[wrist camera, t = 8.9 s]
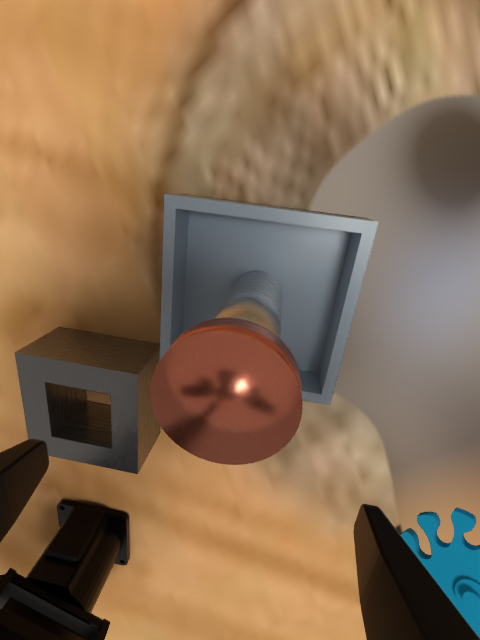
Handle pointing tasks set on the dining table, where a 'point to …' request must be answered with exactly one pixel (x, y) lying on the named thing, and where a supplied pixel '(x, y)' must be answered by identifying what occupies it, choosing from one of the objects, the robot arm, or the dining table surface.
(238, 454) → the pin
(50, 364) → the hitch block
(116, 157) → the dining table surface
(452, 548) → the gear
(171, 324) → the tray
